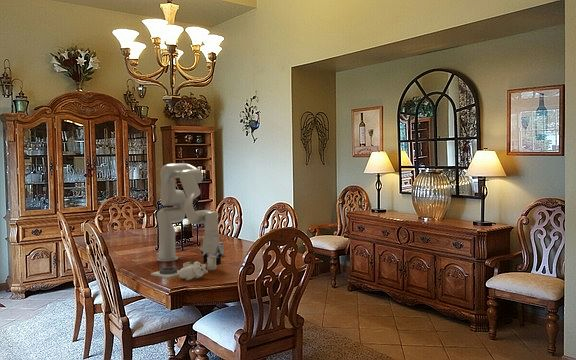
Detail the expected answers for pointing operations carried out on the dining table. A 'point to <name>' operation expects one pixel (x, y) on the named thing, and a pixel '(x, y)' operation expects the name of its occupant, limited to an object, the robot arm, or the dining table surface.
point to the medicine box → (220, 246)
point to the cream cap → (211, 263)
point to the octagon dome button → (166, 272)
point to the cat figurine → (192, 270)
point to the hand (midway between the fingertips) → (212, 263)
